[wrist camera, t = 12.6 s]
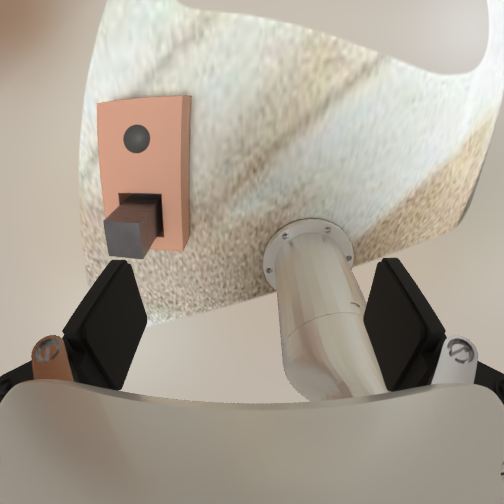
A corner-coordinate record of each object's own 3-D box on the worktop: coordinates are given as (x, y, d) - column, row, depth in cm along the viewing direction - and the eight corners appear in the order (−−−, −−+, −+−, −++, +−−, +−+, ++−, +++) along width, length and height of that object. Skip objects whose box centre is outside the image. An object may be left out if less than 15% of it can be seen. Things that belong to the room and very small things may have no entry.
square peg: (138, 187, 33) (103, 221, 25) (167, 188, 33) (139, 223, 25) (140, 216, 35) (109, 255, 27) (168, 217, 35) (143, 259, 27)
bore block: (113, 101, 27) (96, 103, 24) (191, 95, 28) (182, 95, 24) (122, 231, 36) (110, 246, 33) (189, 235, 37) (182, 251, 33)
